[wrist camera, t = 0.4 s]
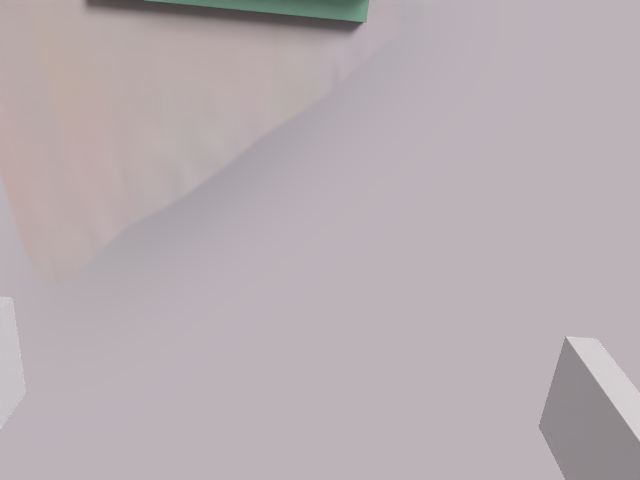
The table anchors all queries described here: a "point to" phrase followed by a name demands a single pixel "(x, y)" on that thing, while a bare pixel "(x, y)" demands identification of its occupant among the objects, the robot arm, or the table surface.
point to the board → (292, 7)
